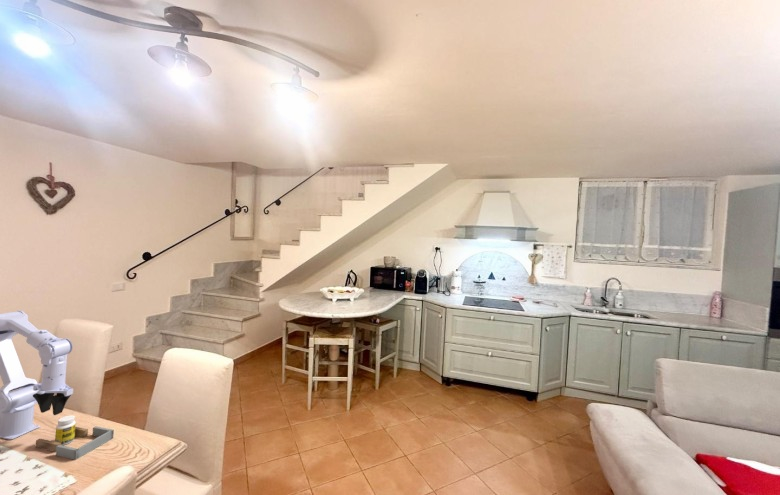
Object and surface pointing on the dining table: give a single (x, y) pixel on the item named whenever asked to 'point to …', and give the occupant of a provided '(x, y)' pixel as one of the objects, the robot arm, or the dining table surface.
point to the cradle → (74, 453)
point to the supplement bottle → (65, 430)
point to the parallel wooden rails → (52, 445)
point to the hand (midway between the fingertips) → (51, 412)
